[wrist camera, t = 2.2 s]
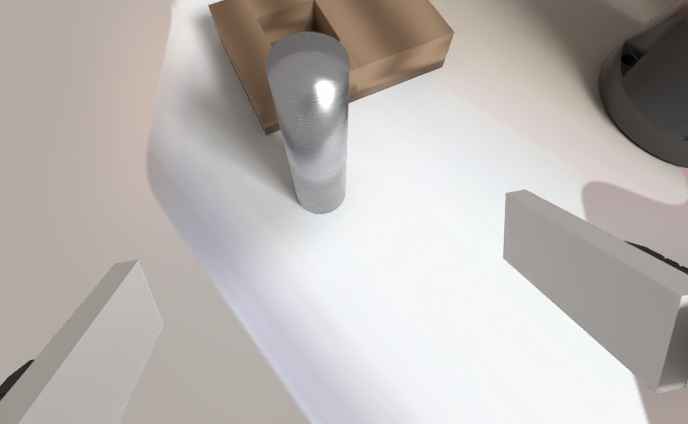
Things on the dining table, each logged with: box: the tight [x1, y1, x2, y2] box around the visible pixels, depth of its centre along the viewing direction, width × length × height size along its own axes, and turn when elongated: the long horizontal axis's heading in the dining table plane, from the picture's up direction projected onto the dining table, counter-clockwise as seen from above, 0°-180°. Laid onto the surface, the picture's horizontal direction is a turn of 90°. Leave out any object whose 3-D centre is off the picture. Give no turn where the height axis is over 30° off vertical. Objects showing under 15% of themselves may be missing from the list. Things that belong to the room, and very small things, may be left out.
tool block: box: [208, 0, 454, 135], centre depth 35 cm, size 18×12×4 cm, turn 116°
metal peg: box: [265, 32, 350, 214], centre depth 24 cm, size 4×4×14 cm
